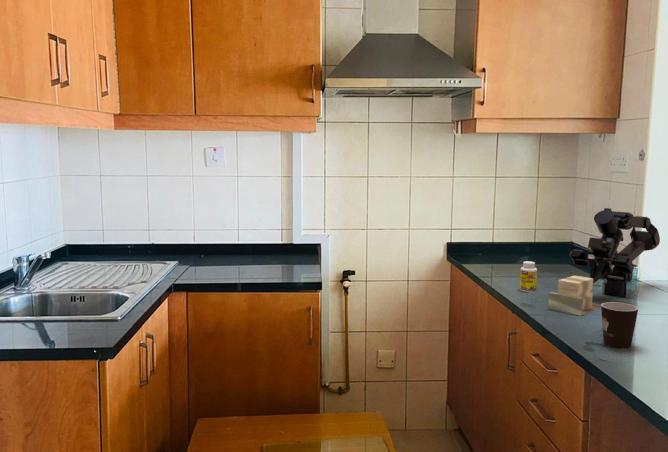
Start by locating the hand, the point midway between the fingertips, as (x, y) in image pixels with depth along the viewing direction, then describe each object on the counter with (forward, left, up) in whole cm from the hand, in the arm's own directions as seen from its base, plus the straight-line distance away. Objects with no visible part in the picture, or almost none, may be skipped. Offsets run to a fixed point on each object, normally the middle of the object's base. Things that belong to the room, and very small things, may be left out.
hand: (591, 282), depth 191 cm
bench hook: (+6, +7, -8) cm, 12 cm away
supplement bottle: (+16, -19, -8) cm, 26 cm away
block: (+7, +8, -6) cm, 12 cm away
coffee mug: (+3, +36, -8) cm, 36 cm away
